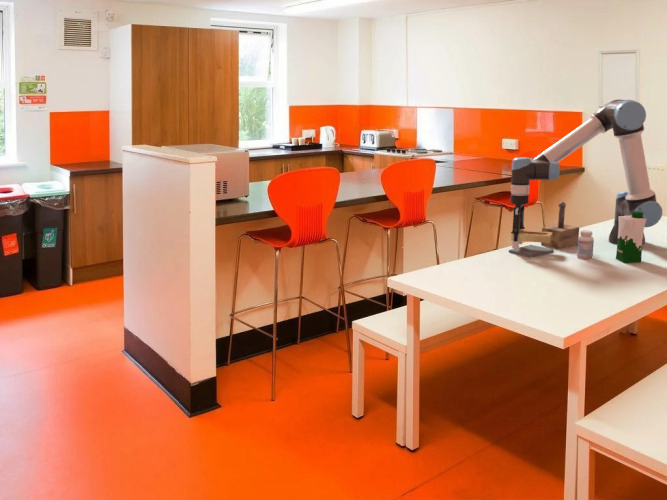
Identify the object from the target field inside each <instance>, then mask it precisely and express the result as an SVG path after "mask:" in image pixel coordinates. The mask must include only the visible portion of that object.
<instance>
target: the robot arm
mask: <svg viewBox="0 0 667 500" xmlns="http://www.w3.org/2000/svg"><path fill="white" fill-rule="evenodd" d="M646 118H647V112H646V108H645V107H644V106H643V104H642V103H640V102H638V101H636V100H633V99H614V100H611V101H609V102H607V103H605V104H604V105H603V106H601V107H600V108H599V109H598V110H597V111H595V112H594V113H592V114H591V115H590V117H589V119H588V120H586V121H585V122H584V123H582V124H580V125H579V126H578V127H576V128H575V129H573V130H572V131H571V132H570V133H567V135H565V136H564V137H563V138H561V139H560V140H559V141H557V142H556V143H554V144H552V145H551V146H550V147H548V148H547V149H545V150H544V151H543V152H542V153H540V154H538V155H537V156H536V157H531V158H530V157H524V156H521V157H520V156H518V157H514V158H513V159H512V163H511V179H510V181H511V183H510V186H509V189H510V193H511V194H510V204H512V205H514V208H513V212H512V213H513V216H512V218H513V219H512V231H511V232H510V233H511V235H512V234H513V240H512V246H511V249H519V247H520V245H523V241H519V237H520V234H519V230H525V226H524V222H525V221H524V220H525V205H527V204H528V203H529V199H530V195H529V194H530V181H552V180H553V181H554V180H558V178H559V177H560V174H561V173H560V172H561V168H560V167H561V166H560V163H559V162H561V161H563V159H565V158H566V157H568V156H569V155H571V154H572V153H574V152H576V151H577V150H579V149H580V148H581V147H582V146H584V145H585V144H587V143H588V142H590V141H591V140H592V139H594V138H595V137H597V136H599V135H600V134H605V133H607V132H608V131H610V130H612V131H613V137H615V138H617V140H618V142H619V148H620V153H621V154H620V155H621V159H622V165H623V170H624V175H625V176H624V177H625V182H626V186H627V191H619V192H617V193H616V198H615V210H614V222H613V226H612V229H611V230H610V233H609V234H608V235H609V236H608V242H609V243H611V244H615V245H617V241H618V229H619V219H618V216H632V212H633V211H639V212H643V218H645V219H646V223H645V226H644V228H650V227H653V226H655V225H657V224H658V223H659V221H661V219H662V216H663V207H662V206H661V204H660V203H659V202H657V196H656V192H655V191H654V190H652V189H651V187H650V186H651V185H650V181H649V179H650V178H649V174H648V173H649V172H648V169H647V162H646V156H645V150H644V144H643V139H642V133H643V132H644V130H645V127H644V123H645V122H646ZM645 244H646V235H645V232H644V233H643V243H642V246H643V245H645Z"/></svg>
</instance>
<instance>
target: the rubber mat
mask: <svg viewBox="0 0 667 500" xmlns="http://www.w3.org/2000/svg"><path fill="white" fill-rule="evenodd" d="M554 252H555V251H554V248H549V247H545V246H544V247H543V246H538V245H533V244H528V245H524V246H519V249H515V248H511V249H508V253H510V254H513V255H514V254H515V255H519V256H522V257H527V258H532V259H533V258H535V257H539V256H543V255H548V254H552V253H554Z"/></svg>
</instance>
